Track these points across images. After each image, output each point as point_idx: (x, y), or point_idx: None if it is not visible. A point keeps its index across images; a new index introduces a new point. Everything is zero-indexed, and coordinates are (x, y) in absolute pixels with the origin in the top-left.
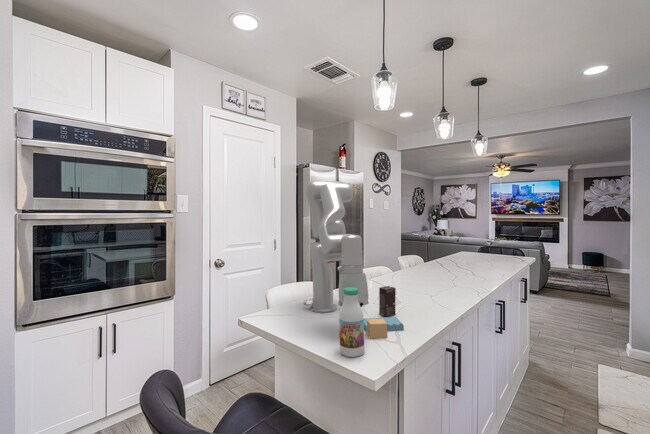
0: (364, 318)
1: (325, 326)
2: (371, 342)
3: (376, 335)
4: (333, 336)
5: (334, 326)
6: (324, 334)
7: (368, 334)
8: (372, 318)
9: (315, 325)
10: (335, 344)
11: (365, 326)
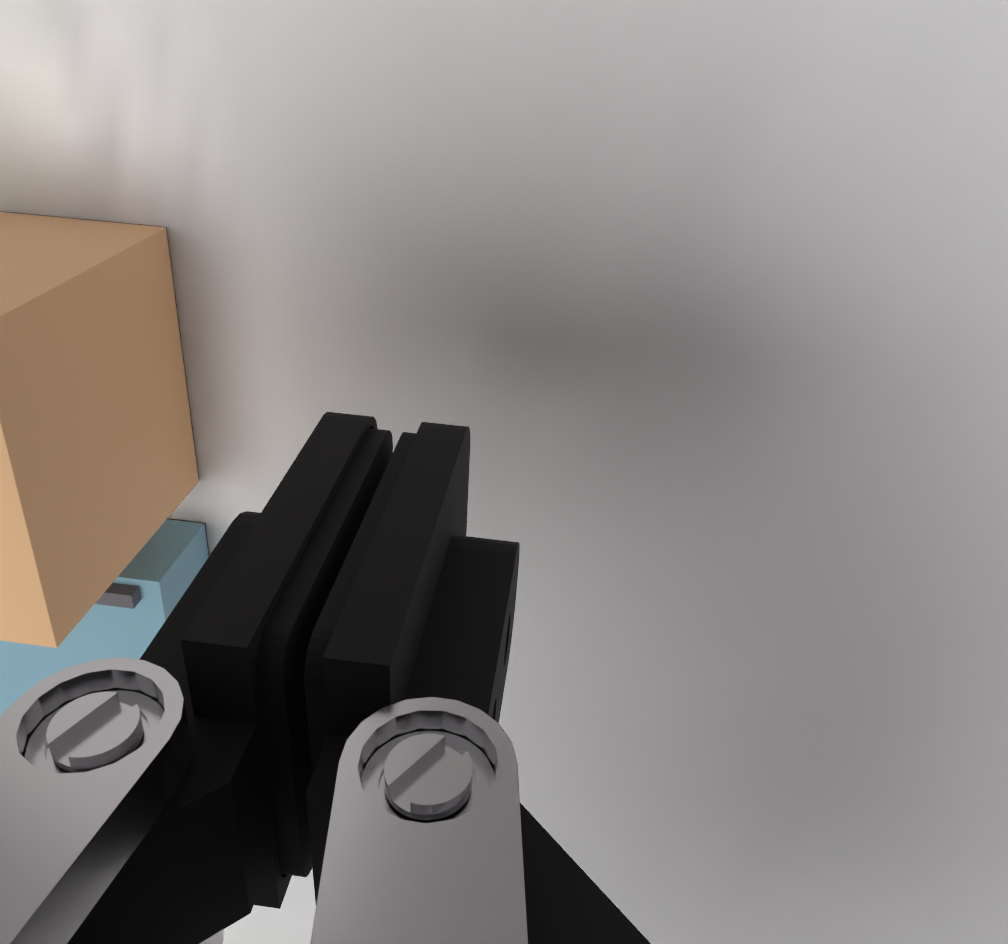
0: None
1: (844, 871)
2: (161, 25)
3: (8, 231)
4: (866, 491)
5: (697, 837)
6: (1000, 610)
7: (179, 391)
8: None
9: (991, 937)
10: (993, 82)
11: None
